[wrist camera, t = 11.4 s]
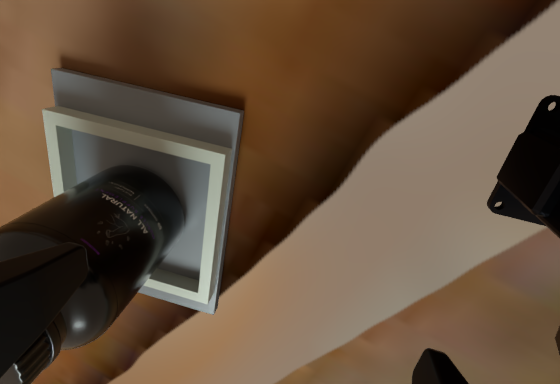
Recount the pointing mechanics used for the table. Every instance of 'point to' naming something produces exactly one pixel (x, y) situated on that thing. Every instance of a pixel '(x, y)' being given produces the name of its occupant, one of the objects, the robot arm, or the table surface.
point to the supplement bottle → (96, 253)
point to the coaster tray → (154, 166)
